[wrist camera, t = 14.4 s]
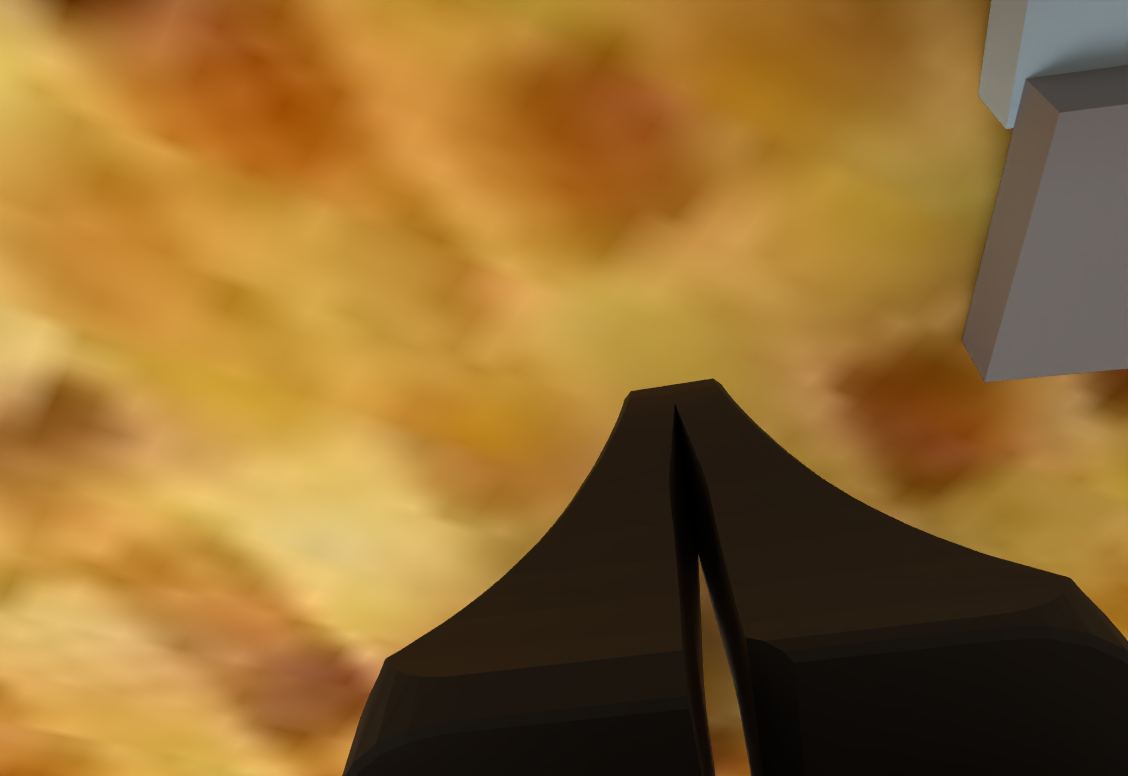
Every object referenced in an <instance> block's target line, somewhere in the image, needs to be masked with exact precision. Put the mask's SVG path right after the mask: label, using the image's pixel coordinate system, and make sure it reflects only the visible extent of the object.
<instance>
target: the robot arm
mask: <svg viewBox="0 0 1128 776" xmlns="http://www.w3.org/2000/svg"><path fill="white" fill-rule="evenodd" d="M698 555H699V558H700V562H701V566H702V569H703V573H704V577H705V580H706V584H707V587H708V591H709V595H710V598H711V602H712V605H713V609H714V613H715V616H716V620H717V623H718V627H719V631H720V634H721V638H722V641H723V645H724V648H725V652H726V656H727V659H728V663H729V666H730V670H731V674H732V677H733V682H734V686H735V690H736V695H737V699H738V703H739V708H740V714H741V720H742V725H743V731H744V737H745V742H746V748H747V754H748V760H749V765H750V771H751V776H1128V641H1127V640H1126V638H1125V637H1124V636H1123V635H1122V633H1121V632H1120V631H1119V630H1118V629H1117V628H1116V627H1115V625H1114V624H1113V623H1112V622H1111V621H1110V620H1109V618H1108V617H1107V616H1106V615H1105V614H1104V613H1103V612H1102V611H1101V610H1100V609H1099V608H1098V607H1097V606H1096V605H1095V604H1094V603H1093V602H1092V601H1091V600H1090V599H1089V598H1088V597H1087V596H1086V595H1085V594H1084V593H1083V592H1082V590H1081V589H1080V588H1079V587H1078V586H1077V585H1076V584H1075V582H1074V581H1073V580H1072V579H1071V578H1069V577H1065V576H1062V575H1058V574H1054V573H1051V572H1047V571H1043V570H1040V569H1036V568H1033V567H1029V566H1025V565H1022V564H1018V563H1014V562H1011V561H1007V560H1004V559H1000V558H996V557H993V556H989V555H986V554H983V553H980V552H977V551H974V550H972V549H969V548H966V547H963V546H961V545H958V544H955V543H952V542H949V541H947V540H944V539H941V538H938V537H936V536H933V535H931V534H929V533H926V532H924V531H921V530H919V529H917V528H914V527H912V526H909V525H907V524H905V523H903V522H901V521H899V520H897V519H895V518H893V517H890V516H888V515H886V514H884V513H882V512H880V511H878V510H876V509H874V508H872V507H870V506H868V505H866V504H864V503H862V502H861V501H859V500H857V499H855V498H853V497H851V496H850V495H848V494H847V493H845V492H843V491H842V490H840V489H838V488H837V487H835V486H834V485H832V484H830V483H829V482H827V481H825V480H824V479H822V478H821V477H820V476H818V475H817V474H815V473H814V472H813V471H811V470H810V469H809V468H807V467H806V466H805V465H804V464H802V463H801V462H800V461H798V460H797V459H796V458H794V457H793V456H792V455H791V454H789V453H788V452H787V451H786V450H785V449H784V448H782V447H781V446H780V445H779V444H778V443H777V442H775V441H774V440H773V439H772V438H771V437H770V436H769V435H768V434H767V433H766V432H764V431H763V430H762V429H761V428H760V427H759V426H758V425H757V424H756V423H755V422H754V421H753V420H752V419H751V418H750V417H749V416H748V415H747V414H746V413H745V412H744V411H743V410H742V409H741V408H740V407H739V406H738V404H737V403H736V402H735V401H734V400H733V399H732V398H731V396H730V395H729V394H728V393H727V391H726V390H725V389H724V387H723V386H722V385H721V384H720V383H719V382H717V381H716V380H715V379H708V380H701V381H695V382H688V383H682V384H675V385H669V386H662V387H656V388H649V389H643V390H636V391H631V392H630V393H629V395H628V396H627V397H626V398H625V400H624V403H623V407H622V409H621V412H620V415H619V417H618V419H617V422H616V424H615V426H614V428H613V430H612V433H611V435H610V437H609V439H608V441H607V443H606V444H605V446H604V448H603V450H602V452H601V454H600V456H599V458H598V459H597V461H596V463H595V465H594V467H593V468H592V470H591V472H590V473H589V475H588V476H587V478H586V479H585V481H584V483H583V484H582V486H581V487H580V489H579V490H578V492H577V493H576V495H575V496H574V498H573V499H572V501H571V502H570V504H569V505H568V506H567V508H566V509H565V511H564V512H563V513H562V515H561V516H560V517H559V518H558V520H557V521H556V522H555V523H554V525H553V526H552V527H551V528H550V529H549V531H548V532H547V533H546V534H545V535H544V537H543V538H542V539H541V540H540V541H539V542H538V543H537V544H536V545H535V546H534V547H533V548H532V549H531V550H530V551H529V552H528V553H527V554H526V555H525V556H524V557H523V558H522V559H521V560H520V561H519V562H518V563H517V564H516V565H515V566H514V567H513V568H512V569H511V570H510V571H509V572H508V573H507V574H506V575H504V576H503V577H502V578H501V579H500V580H499V581H497V582H496V583H495V584H494V585H493V586H491V587H490V588H489V589H488V590H487V591H485V592H484V593H483V594H482V595H481V596H479V597H478V598H477V599H475V600H474V601H473V602H471V603H470V604H469V605H467V606H466V607H465V608H463V609H462V610H461V611H460V612H458V613H457V614H455V615H454V616H452V617H451V618H450V619H448V620H447V621H445V622H444V623H442V624H441V625H439V626H438V627H436V628H435V629H433V630H431V631H430V632H428V633H427V634H425V635H424V636H422V637H420V638H419V639H417V640H416V641H414V642H413V643H411V644H409V645H408V646H406V647H405V648H403V649H402V650H400V651H398V652H397V653H395V654H393V655H391V656H390V657H388V658H386V660H385V661H384V664H383V666H382V669H381V671H380V674H379V676H378V678H377V680H376V682H375V685H374V687H373V689H372V691H371V693H370V695H369V698H368V700H367V703H366V705H365V708H364V710H363V713H362V715H361V718H360V721H359V724H358V727H357V730H356V733H355V737H354V740H353V743H352V746H351V750H350V753H349V756H348V759H347V762H346V766H345V769H344V772H343V775H342V776H715V769H714V762H713V755H712V748H711V741H710V734H709V727H708V720H707V712H706V703H705V692H704V680H703V657H702V633H701V609H700V585H699V563H698Z"/></svg>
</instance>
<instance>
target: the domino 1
mask: <svg viewBox="0 0 1128 776" xmlns="http://www.w3.org/2000/svg"><path fill="white" fill-rule="evenodd" d="M1126 65H1128V0H991V7H990V14H989V21H988V28H987V35H986V42H985V49H984V56H983V63H982V71H981V78H980V85H979V98H980V99H981V100H982V101H983V103H984V104H985V105H986V106H987V107H988V108H989V110H990V111H991V112H992V113H993V114H994V116H995V117H996V118H997V119H998V120H999V121H1000V123H1001V124H1002V125H1003V126H1004V127H1005V129H1010V128H1014V124H1015V120H1016V116H1017V112H1018V108H1019V104H1020V99H1021V95H1022V91H1023V87H1024V83H1025V79H1027V78H1034V77H1042V76H1049V75H1057V74H1065V73H1072V72H1080V71H1088V70H1095V69H1103V68H1111V67H1118V66H1126Z"/></svg>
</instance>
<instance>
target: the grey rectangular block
mask: <svg viewBox="0 0 1128 776" xmlns="http://www.w3.org/2000/svg"><path fill="white" fill-rule="evenodd" d="M962 342H963V344H964V346H965V348H966V349H967V351H968V353H969V355H970V357H971V359H972V360H973V362H974V364H975V366H976V368H977V370H978V371H979V373H980V375H981V377H982V379H983V380H984V382H993V381H1004V380H1014V379H1024V378H1035V377H1045V376H1056V375H1066V374H1076V373H1087V372H1097V371H1108V370H1118V369H1128V65H1126V66H1118V67H1111V68H1103V69H1095V70H1088V71H1080V72H1072V73H1065V74H1057V75H1049V76H1042V77H1034V78H1027V79H1025V83H1024V87H1023V91H1022V95H1021V99H1020V104H1019V108H1018V112H1017V116H1016V120H1015V124H1014V128H1013V132H1012V137H1011V141H1010V145H1009V149H1008V153H1007V157H1006V161H1005V165H1004V170H1003V174H1002V178H1001V182H1000V186H999V190H998V194H997V198H996V202H995V207H994V211H993V215H992V219H991V223H990V227H989V231H988V235H987V240H986V244H985V248H984V252H983V256H982V260H981V264H980V268H979V273H978V277H977V281H976V285H975V289H974V293H973V297H972V301H971V305H970V310H969V314H968V318H967V322H966V326H965V330H964V334H963V338H962Z"/></svg>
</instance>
